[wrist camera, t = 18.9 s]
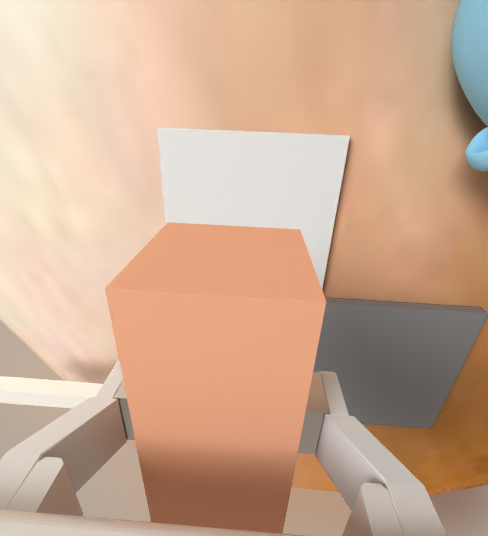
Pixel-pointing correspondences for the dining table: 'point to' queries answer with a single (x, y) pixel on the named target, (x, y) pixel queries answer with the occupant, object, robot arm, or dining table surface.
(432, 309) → the board
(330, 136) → the white mat
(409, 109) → the dining table surface
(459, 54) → the decorative pot
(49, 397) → the bar
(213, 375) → the salmon orange rectangular block
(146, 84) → the dining table surface
